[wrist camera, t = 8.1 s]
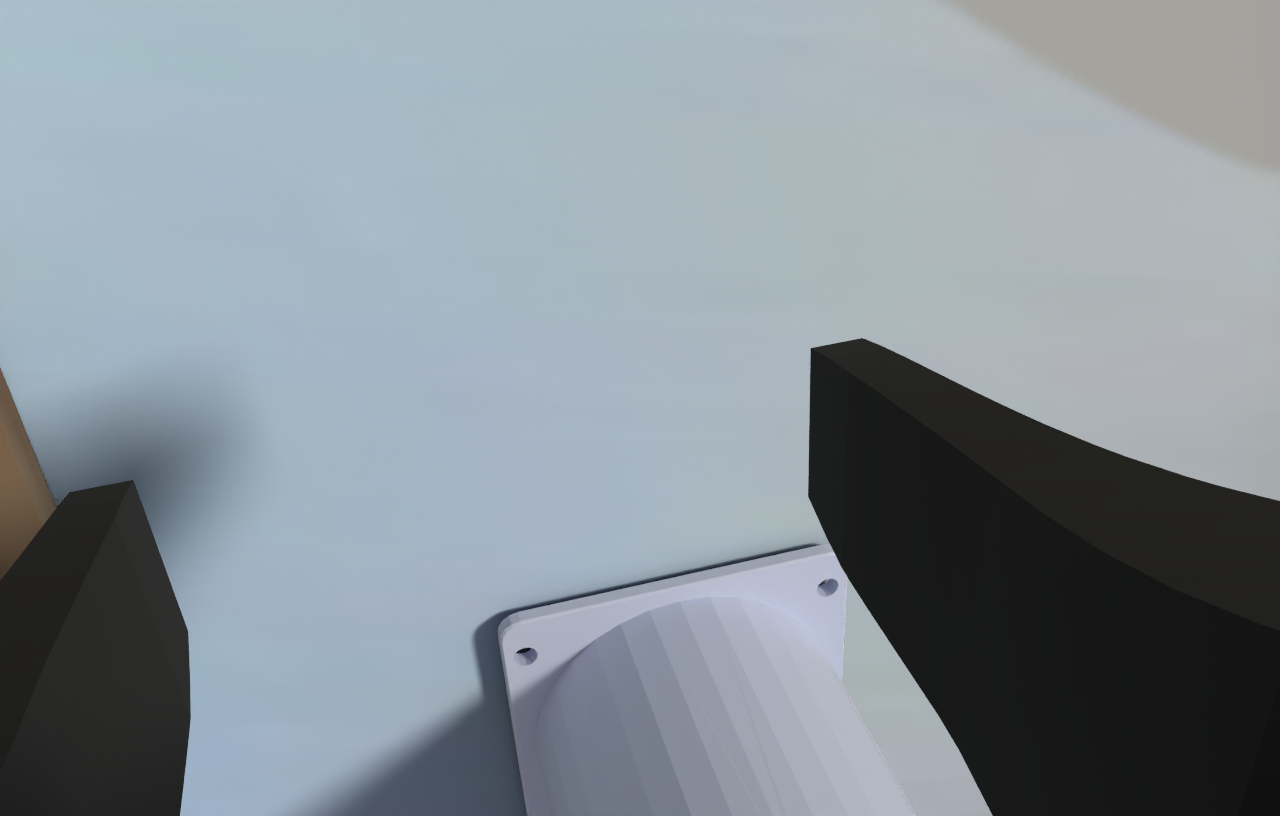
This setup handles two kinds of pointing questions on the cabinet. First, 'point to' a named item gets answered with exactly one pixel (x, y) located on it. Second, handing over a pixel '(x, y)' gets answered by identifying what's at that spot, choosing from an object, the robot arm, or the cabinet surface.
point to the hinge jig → (18, 485)
